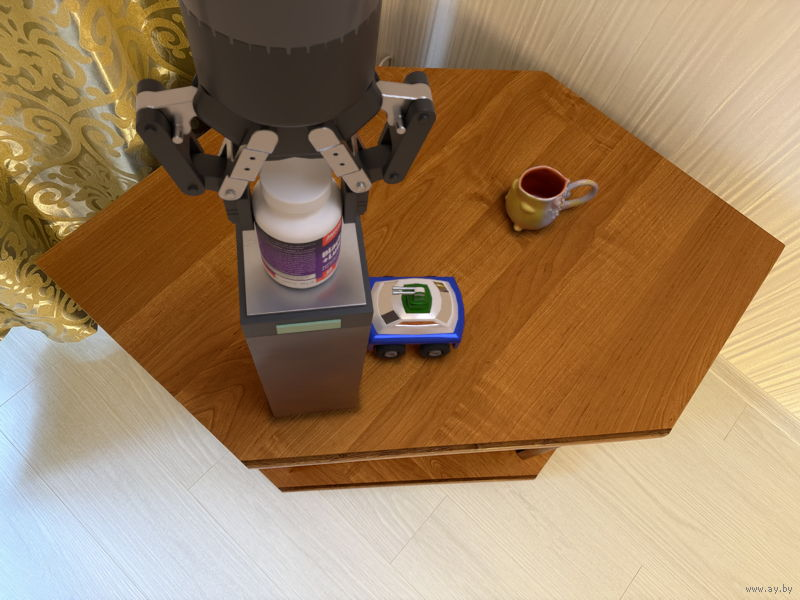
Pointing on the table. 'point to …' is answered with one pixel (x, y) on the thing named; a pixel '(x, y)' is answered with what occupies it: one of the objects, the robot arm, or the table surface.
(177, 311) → the table surface
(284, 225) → the pill bottle
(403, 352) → the toy car
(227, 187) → the robot arm
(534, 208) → the mug
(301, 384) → the tall grey box
